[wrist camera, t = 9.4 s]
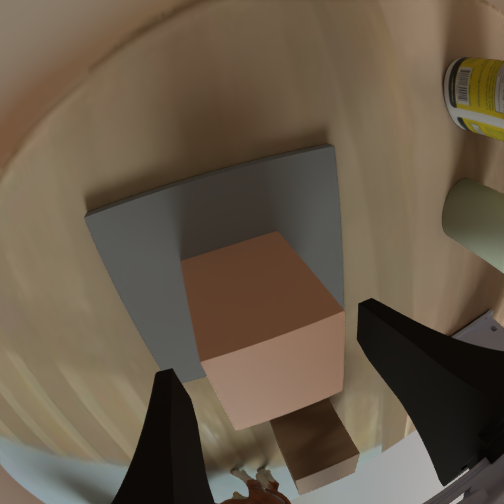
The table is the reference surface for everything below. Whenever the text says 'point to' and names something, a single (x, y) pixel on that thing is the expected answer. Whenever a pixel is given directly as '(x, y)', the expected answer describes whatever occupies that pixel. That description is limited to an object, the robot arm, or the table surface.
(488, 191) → the sage cylinder
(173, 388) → the robot arm
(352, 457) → the walnut block
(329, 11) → the table surface
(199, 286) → the terracotta brick
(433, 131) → the table surface
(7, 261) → the table surface
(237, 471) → the bull figurine
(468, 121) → the supplement bottle
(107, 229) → the slate mat
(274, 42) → the table surface
